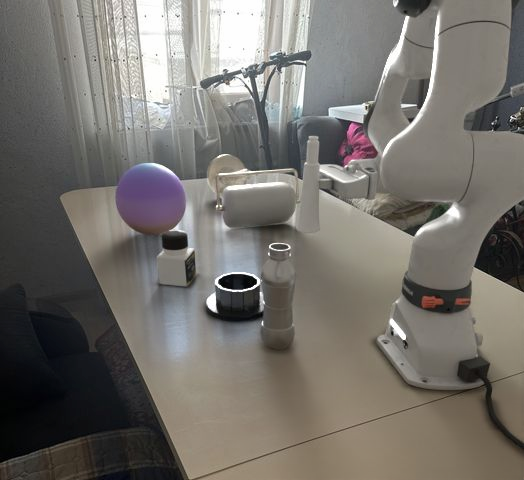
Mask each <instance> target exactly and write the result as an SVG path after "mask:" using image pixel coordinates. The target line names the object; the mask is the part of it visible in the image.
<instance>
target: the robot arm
mask: <svg viewBox="0 0 524 480" xmlns="http://www.w3.org/2000/svg"><path fill="white" fill-rule="evenodd" d="M521 2H522V0H392V3H393V6H394V8H395V9H396V11H397V12H398V13H399V14H401V15H403V16H405V18H404V22H403V27H402V31H401V34H400V38H399V41H398V43H396V44H395V45H394V47H393V48H392V50H391V52H390V54H389V56H388V58H387V61H386V64H385V66H384V69H383V72H382V75H381V79H380V82H379V85H378V87H377V91H376V94H375V97H374V99H373V102H372V103H371V106H370V107H369V109H368V111H367V113H366V115H365V117H364V119H363V122H362V132H363V135H364V136H365V137H366V139H367V140H369V142H370V143H371V144H372V146H373V147H374V148H375V150H376V151H377V154H376V156H375V157H374V158H359V159H351V160H350V161H348V163H347V165H345V166H344V167H343V166H341V165H339V164H331V163H329V164H328V163H327V164H320V173H319V189H323V190H328V191H330V192H332V193H333V194H336V195H337V196H339V197H340V198H343V199H347V200H348V199H349V200H357V199H358V200H359V199H360V200H361V199H364V200H367V201H371V200H375V199H376V195H377V194H382V195H387V194H388V195H390V196H392V197H395V198H399V199H402V200H407V201H412V202H416V203H417V202H418V203H452V205H450V207H449V208H448V209H447V211H445V212H444V213H443V214H442V215H440V216H439V217H436V218H435V219H432V220H430V221H428V222H426V223H424V224H423V225H421V227H420V228H419V229H418V230H417V231H416V233H415V234H414V236H413V237H412V244H411V248H410V254H409V261H408V265H407V270H405V273H404V276H403V279H402V282H401V295H400V296H399V297H398V298H397V299H396V300H395V301H394V302H393V303H392V304H391V306H390V311H389V315H388V319H387V324H386V328H385V332H384V333H383V334H381V335H379V336H378V337H377V338H376V341H375V342H376V345H377V346H378V348H379V349H380V350H381V351H382V353H383V354H384V355H385V357H386V358H387V359H388V360H389V362H390V363H391V365H392V366H393V368H394V369H395V370H396V371H397V373H398V374H399V375H400V376H401V378H402V379H403V380H404V381H405V382H406V383H407V384H408V385H410V386H413V387H417V388H421V389H427V390H437V391H462V390H471V389H476V388H479V387H481V386H483V385H484V386H485V396H484V397H485V404H486V408H487V412H488V416H489V418H490V420H491V422H492V423H493V424H494V426H495V427H496V428H497V429H498V430H499V431H500V432H501V433H502V434H503V436H504V437H505V438H506V439H507V440H509V441H510V442H511V443H512V444H514V445H515V446H516V447H518V448H519V449H521V450H523V451H524V442H523V441H521V440H520V439H519V438H518V437H516V436H515V435H514V434H513V433H512V432H510V430H508V428H507V427H506V426H505V424H503V423H502V422H501V421H500V420H499V418H498V416H497V415H496V412H495V410H494V406H493V405H494V404H493V399H492V395H493V385H492V383H491V381H490V379H489V378H488V377H487V376H488V373H489V370H490V367H491V362H490V361H488V360H487V359H486V358H484V357H482V356H481V355H479V354H478V347H480V346H482V344H483V341H484V340H483V339H484V335H483V333H481V332H475V327H474V326H476V322H477V321H476V320H477V319H476V317H473V316H472V313H471V303H472V302H471V301H472V295H473V288H472V286H473V281H472V275H473V272H474V268H475V265H476V262H477V258H478V255H479V252H480V249H481V246H482V245H483V242H484V240H485V238H486V237H487V235H488V233H489V232H490V230H492V228H493V226H494V225H495V224H496V223H497V222H498V221H499V219H500V218H502V216H504V215H505V214H506V213H507V212H508V211H510V210H511V208H513V207H514V206H516V205H517V204H519V203H521V202H522V201H524V134H522V133H518V132H513V131H507V130H505V131H502V130H501V131H500V130H497V131H495V130H468V129H465V128H464V123H465V118H466V116H467V115H468V114H470V113H472V112H474V111H476V110H479V109H481V108H483V107H484V106H486V105H488V104H489V103H491V102H492V101H493V100H495V99H496V98H497V97H498V96H499V95H500V93H501V92H502V90H503V88H504V86H505V84H506V81H507V75H508V73H507V72H508V63H509V53H510V52H509V50H510V40H511V29H512V13H513V12H515V10H516V9H517V8H518V7H519V6H520V4H521ZM427 79H430V80H429V85H428V91H427V95H426V98H425V100H424V102H423V104H422V107H421V108H420V110H419V112H418V113H417V115H416V116H415V117H414V119H413V120H412V121H411V122H410V121H409V119H408V117H407V116H406V115H405V113H404V111H403V107H402V100H403V96H404V94H405V91H406V89H407V86H408V83H409V81H410V80H417V81H418V80H427Z"/></svg>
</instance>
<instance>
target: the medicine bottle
mask: <svg viewBox="0 0 524 480" xmlns="http://www.w3.org/2000/svg"><path fill="white" fill-rule="evenodd" d="M160 238H161V239H160V240H161V248H162V251H161V252H160V253H159V254H158V255H157V256H156V267H157V275H158V283H159V285H164V286H165V285H166V286H175V287H186V288H187V287H188V286H189V285H190V284H191V282H192V281H193V280H194V278H195V277H196V276H197V267H196V253H195V248H193V247H192V248H191V247H189V237H188V233H187V232H186V231H184V230H181V229H172V230H169V231H166V232H164V233H163V234H161V235H160Z"/></svg>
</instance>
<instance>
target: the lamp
mask: <svg viewBox="0 0 524 480" xmlns="http://www.w3.org/2000/svg"><path fill="white" fill-rule="evenodd" d="M285 173H293V174H294V184H295V185H294V186H295V187H293V186H292V185H291V184H289V183H287V182H284V181H282V182H281V181H280V182H279V181H275V182H263V183H262V182H261V183H251V184H247V181H248V180H250V179H251V178H252V177H253V176H259V175H270V174H285ZM206 181H207V184H208V186H209V188H210V190H211V191H212V192H213V193H214V194H215V195H216V204H217V205H216V206H215V212H217V213H218V212H222V219H223V223H224V225H225V226H226V227H228V228H229V229H242V228H252V227H260V226H270V225H278V224H279V225H280V224H284V223H286V222H288V221H289V220H290V219H291V218H292V217H293V215H294V213H295V212H296V208H297V205H298V204H299V205H300V202H301V197H300V195H299V194H300V193H299V174H298V170H297V169H295V168H283V169H282V168H281V169H272V170H256V171H255V170H254V171H251V170H250V169H249V168H246V166H245V164H244V163H243V161H242V160H241V159H240V158H239V157H237V156H235V155H233V154H221V155H219V156H217V157H215V158H214V159H213V160H211V162H210V163H209V165H208V167H207V169H206Z"/></svg>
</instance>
